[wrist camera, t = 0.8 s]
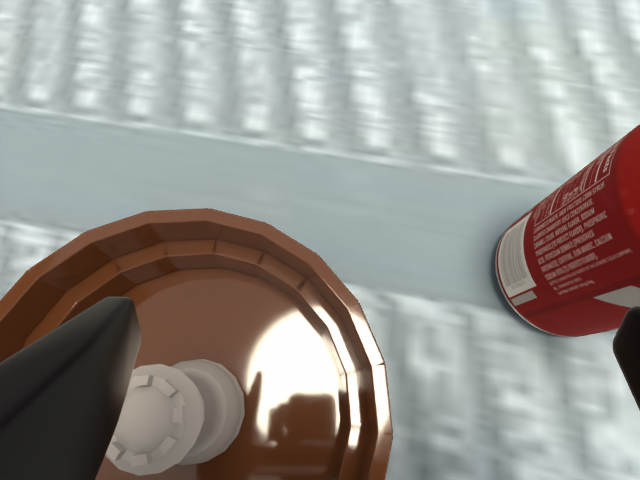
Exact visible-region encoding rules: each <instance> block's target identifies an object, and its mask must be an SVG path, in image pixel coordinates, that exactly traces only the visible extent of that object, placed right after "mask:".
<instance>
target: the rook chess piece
mask: <svg viewBox="0 0 640 480" xmlns="http://www.w3.org/2000/svg"><path fill="white" fill-rule="evenodd" d="M244 415H245V411H244V394H243V392H242V390H241V387H240V385H239V383H238V381H237V379H236V377H235V376H234V375H233V374H232V373H231V372H229V371H228V370H227V369H226V368H225V367H224V366H223V365H221V364H218V363H215V362H212V361H209V360H205V359H199V360H189V361H181V362H179V363H177V364H175V365H173V366H171V367H169V366H166V365H163V364H155V365H146V366H140V367H138V368H136V369H134V370H133V372H132V375H131V379H130V383H129V386H128V390H127V393H126V397H125V400H124V404H123V407H122V411H121V414H120V417H119V420H118V424H117V426H116V429H115V432H114V434H113V437H112V439H111V442H110V444H109V447H108V449H107V452H106V454H105V456H106V457H107V458H108V459H109V460H110V461H111V462H112V463H113V464H114V465H115V466H116V467H117V468H118V469H120V470H123V471H126V472H129V473H132V474H135V475H138V476H140V475H148V474H156V473H161V472H163V471H165V470H166V469H168V468H170V467H172V466H173V465H175V464H179V465H190V464H198V463H203V462H207V461H209V460H210V459H212V458H214V457H215V456H217V455H219V454H221V453H222V452H224V451H225V450H226V449H227V448H228V446H229V445H230V444H231V443H232V441H233V440H234V439H235V438H236V436H237V435H238V433H239V430H240V427H241V424H242V421H243V418H244Z"/></svg>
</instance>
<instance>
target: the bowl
mask: <svg viewBox="0 0 640 480" xmlns="http://www.w3.org/2000/svg"><path fill="white" fill-rule="evenodd" d="M106 297H129V298H131V299H132V300H133V302H134V304H135V309H136V313H137V318H138V322H139V326H140V331H141V342H140V347H139V351H138V354H137V358H136V361H135V365H134V368H133V370H134V369H136V368H138V367H140V366H146V365H155V364H163V365H166V366H169V367H171V366H173V365H175V364H177V363H179V362H181V361H189V360H199V359H205V360H209V361H212V362H215V363H218V364H221V365H223V366H224V367H225V368H226V369H227V370H228V371H229V372H231V373H232V374H233V375H234V376H235V377H236V379H237V381H238V383H239V385H240V387H241V390H242V392H243V394H244V411H245V415H244V418H243V421H242V424H241V427H240V430H239V433H238V435H237V436H236V438H235V439H234V440H233V441H232V443H231V444H230V445H229V446H228V448H227V449H226V450H225V451H224V452H222V453H221V454H219V455H217V456H215V457H214V458H212V459H210V460H209V461H207V462H203V463H198V464H190V465H179V464H175V465H173V466H172V467H170V468H168V469H166V470H165V471H163V472H161V473H156V474H148V475H140V476H138V475H135V474H132V473H129V472H126V471H123V470H120V469H118V468H117V467H116V466H115V465H114V464H113V463H112V462H111V461H110V460H109V459H108V458H107V457H106V456H104V459H103V461H102V464H101V466H100V469H99V471H98V474H97V476H96V478H95V480H385V478H386V472H387V467H388V461H389V456H390V450H391V445H392V439H393V429H392V420H391V411H390V402H389V392H388V383H387V374H386V365H385V364H384V363H385V361H384V359H383V357H382V354H381V352H380V350H379V347H378V345H377V343H376V340H375V338H374V336H373V333H372V331H371V329H370V326H369V324H368V322H367V319H366V317H365V315H364V312H363V310H362V308H361V305H360V303H358V300H357V299H356V298H355V297H354V295H353V294H352V293H351V292H350V291H349V290H348V289H347V287H346V286H345V285H344V284H343V283H342V282H341V280H340V279H339V278H338V277H337V276H336V275H335V273H334V272H333V271H332V270H331V269H330V268H329V266H328V265H327V264H326V263H325V262H324V261H323V259H322V258H321V257H320V256H319V255H317V253H315V252H313V251H312V250H310V249H308V248H307V247H305V246H304V245H302V244H300V243H299V242H297V241H295V240H294V239H292V238H291V237H289V236H287V235H286V234H284V233H282V232H281V231H279V230H278V229H276V228H274V227H273V226H271V225H270V224H267V223H265V222H261V221H258V220H254V219H250V218H246V217H242V216H238V215H234V214H230V213H226V212H222V211H218V210H214V209H208V208H205V209H182V210H159V211H148V212H147V211H145V212H142V213H139V214H136V215H133V216H130V217H127V218H124V219H121V220H118V221H115V222H112V223H109V224H106V225H103V226H100V227H97V228H94V229H91V230H88V231H86V232H84V233H83V234H81V235H80V236H78V237H77V238H75V239H74V240H72V241H70V242H69V243H67V244H66V245H64V246H63V247H61V248H60V249H58V250H57V251H55V252H54V253H52V254H51V255H49V256H48V257H46V258H45V259H43V260H42V261H40V262H39V263H37V264H36V265H34V266H33V267H31V268H30V269H29V270H27V271H26V272H25V273H24V275H23V276H22V277H21V278H20V279H19V280H18V281H17V282H16V283H15V285H14V286H13V287H12V288H11V289H10V290H9V291H8V292H7V294H6V295H5V296H4V297H3V298H2V299H1V300H0V363H1V362H3V361H4V360H6V359H7V358H9V357H11V356H12V355H14V354H15V353H17V352H19V351H20V350H22V349H24V348H25V347H27V346H28V345H30V344H32V343H33V342H35V341H36V340H38V339H40V338H41V337H43V336H44V335H46V334H48V333H49V332H51V331H53V330H54V329H56V328H57V327H59V326H61V325H62V324H64V323H65V322H67V321H69V320H70V319H72V318H73V317H75V316H77V315H78V314H80V313H82V312H83V311H85V310H86V309H88V308H90V307H91V306H93V305H94V304H96V303H98V302H99V301H101V300H103V299H104V298H106Z"/></svg>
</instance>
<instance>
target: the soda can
mask: <svg viewBox="0 0 640 480" xmlns="http://www.w3.org/2000/svg"><path fill="white" fill-rule="evenodd" d="M495 269H496V276H497V280H498V283H499V286H500V289H501V291H502V293H503V295H504V297H505V299H506V300H507V302H508V303H509V304H510V306H511V307H512V308H513V309H514V311H515V312H516V313H517V314H518V315H519V316H520V317H522V318H523V319H524V320H525V321H527V322H528V323H529V324H531V325H532V326H534V327H536V328H538V329H540V330H542V331H544V332H547V333H550V334H553V335H558V336H564V337H578V336H584V335H589V334H595V333H600V332H605V331H610V330H615V329H619V327H620V325H621V322H622V320H623V318H624V316H625V314H626V312H627V311H628V310H629V309H630V308H632V307H635V306H640V125H638V126H637V127H636V128H634V129H633V130H632V131H630V132H629V133H628V134H627V135H625V136H624V137H623V138H622V139H620V140H619V141H618V142H616V143H615V144H614V145H613V146H611V147H610V148H609V149H607V150H606V151H605V152H604V153H602V154H601V155H600V156H599V157H597V158H596V159H595V160H593V161H592V162H591V163H590V164H588V165H587V166H586V167H584V168H583V169H582V170H581V171H579V172H578V173H577V174H576V175H574V176H573V177H572V178H570V179H569V180H568V181H567V182H565V183H564V184H563V185H561V186H560V187H559V188H558V189H556V190H555V191H554V192H553V193H551V194H550V195H549V196H547V197H546V198H545V199H544V200H542V201H541V202H540V203H538V204H537V205H536V206H535V207H533V208H532V209H531V210H530V211H528V212H527V213H526V214H524V215H523V216H522V217H521V218H519V219H518V220H517V221H515V222H514V223H513V224H512V225H511V226H510V227H509V228H508V229H507V230H506V231H505V233H504V234H503V236H502V238H501V239H500V242H499V244H498V247H497V251H496V257H495Z"/></svg>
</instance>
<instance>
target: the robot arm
mask: <svg viewBox="0 0 640 480" xmlns="http://www.w3.org/2000/svg"><path fill="white" fill-rule="evenodd" d="M140 342H141V331H140V326H139V322H138V318H137V313H136V309H135V304H134V302H133V300H132V299H131V298H129V297H106V298H104V299H103V300H101V301H99V302H98V303H96V304H94V305H93V306H91V307H90V308H88V309H86V310H85V311H83V312H82V313H80V314H78V315H77V316H75V317H73V318H72V319H70V320H69V321H67V322H65V323H64V324H62V325H61V326H59V327H57V328H56V329H54V330H53V331H51V332H49V333H48V334H46V335H44V336H43V337H41V338H40V339H38V340H36V341H35V342H33V343H32V344H30V345H28V346H27V347H25V348H24V349H22V350H20V351H19V352H17V353H15V354H14V355H12V356H11V357H9V358H7V359H6V360H4V361H3V362H1V363H0V480H95V478H96V476H97V474H98V471H99V469H100V466H101V464H102V461H103V459H104V456H105V454H106V452H107V449H108V447H109V444H110V442H111V439H112V437H113V434H114V432H115V429H116V426H117V424H118V420H119V417H120V414H121V411H122V407H123V404H124V400H125V397H126V393H127V390H128V386H129V383H130V379H131V375H132V372H133V368H134V365H135V361H136V358H137V354H138V351H139V347H140ZM613 351H614V354H615V357H616V359H617V361H618V363H619V366H620V368H621V370H622V372H623V374H624V377H625V379H626V381H627V383H628V385H629V388H630V390H631V392H632V394H633V396H634V399H635V401H636V403H637V405H638V408H639V410H640V306H635V307H632V308H630V309H629V310H628V311H627V312H626V314H625V316H624V318H623V320H622V322H621V325H620V327H619V329H618V331H617V333H616V335H615V337H614V340H613Z"/></svg>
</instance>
